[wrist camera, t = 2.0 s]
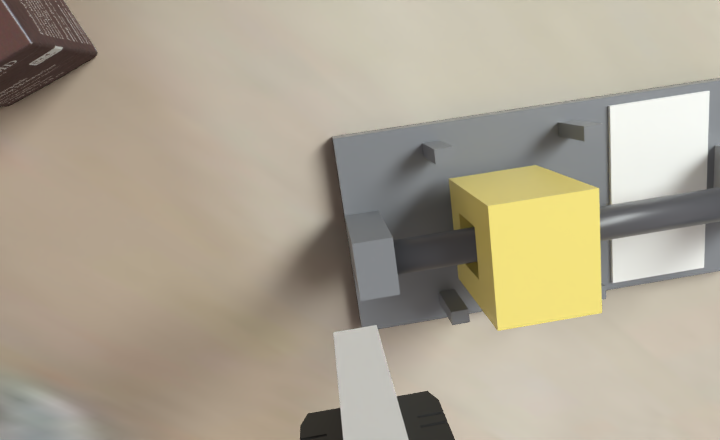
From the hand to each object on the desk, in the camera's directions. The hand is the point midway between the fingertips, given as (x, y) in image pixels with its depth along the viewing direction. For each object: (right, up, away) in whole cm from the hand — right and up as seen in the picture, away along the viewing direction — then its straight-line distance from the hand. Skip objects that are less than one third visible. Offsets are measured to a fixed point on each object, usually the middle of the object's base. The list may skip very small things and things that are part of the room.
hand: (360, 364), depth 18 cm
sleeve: (+8, +5, +12) cm, 15 cm away
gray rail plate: (+11, +6, +15) cm, 20 cm away
